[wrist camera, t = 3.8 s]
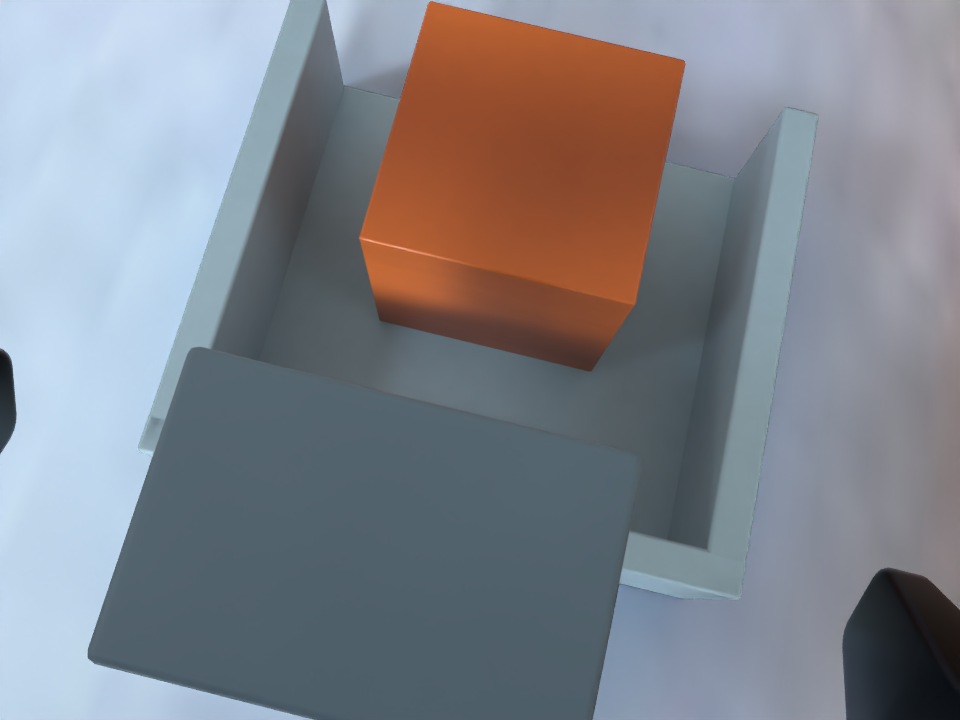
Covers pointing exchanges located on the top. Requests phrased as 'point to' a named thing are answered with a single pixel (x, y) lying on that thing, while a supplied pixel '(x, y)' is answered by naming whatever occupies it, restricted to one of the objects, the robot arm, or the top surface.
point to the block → (519, 186)
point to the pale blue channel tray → (437, 441)
